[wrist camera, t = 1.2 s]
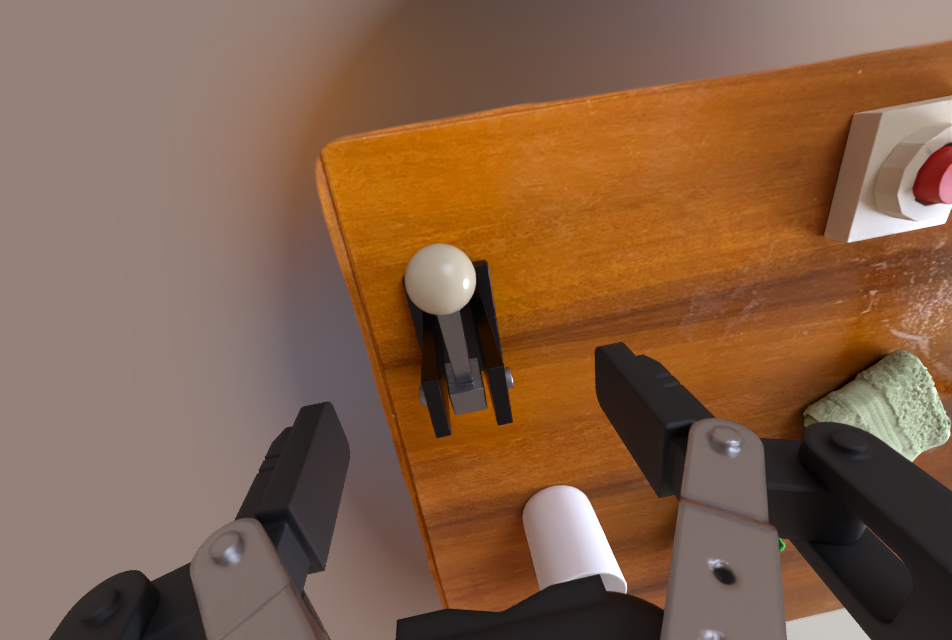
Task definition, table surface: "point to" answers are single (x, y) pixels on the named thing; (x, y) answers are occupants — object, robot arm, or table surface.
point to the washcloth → (889, 405)
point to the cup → (568, 539)
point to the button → (935, 178)
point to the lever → (449, 316)
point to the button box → (888, 171)
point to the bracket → (479, 343)
